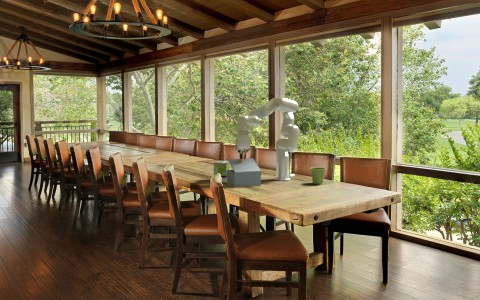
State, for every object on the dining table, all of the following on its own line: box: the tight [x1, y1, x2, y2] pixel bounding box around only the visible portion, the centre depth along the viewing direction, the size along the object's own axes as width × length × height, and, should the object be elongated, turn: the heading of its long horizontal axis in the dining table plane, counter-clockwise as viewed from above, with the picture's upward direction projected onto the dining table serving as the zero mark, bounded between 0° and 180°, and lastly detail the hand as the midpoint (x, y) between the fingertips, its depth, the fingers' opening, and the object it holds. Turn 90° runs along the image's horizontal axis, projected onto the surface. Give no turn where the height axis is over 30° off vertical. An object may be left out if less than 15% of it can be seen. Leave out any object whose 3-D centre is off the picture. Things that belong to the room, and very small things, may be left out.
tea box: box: [212, 160, 232, 183], centre depth 318 cm, size 15×10×15 cm
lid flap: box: [227, 150, 262, 173], centre depth 299 cm, size 20×16×8 cm
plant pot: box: [309, 166, 327, 185], centre depth 309 cm, size 12×12×11 cm
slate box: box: [226, 169, 262, 188], centre depth 302 cm, size 20×16×10 cm
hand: (242, 158), depth 303 cm, fingers closed
